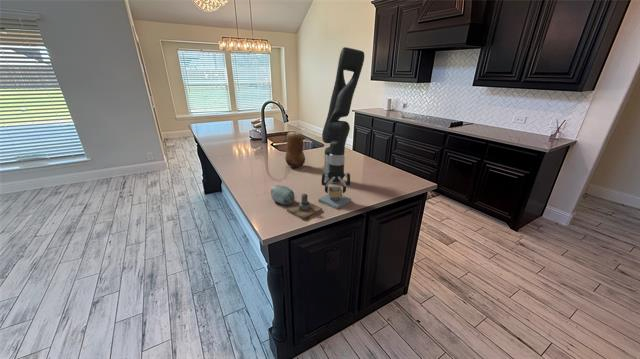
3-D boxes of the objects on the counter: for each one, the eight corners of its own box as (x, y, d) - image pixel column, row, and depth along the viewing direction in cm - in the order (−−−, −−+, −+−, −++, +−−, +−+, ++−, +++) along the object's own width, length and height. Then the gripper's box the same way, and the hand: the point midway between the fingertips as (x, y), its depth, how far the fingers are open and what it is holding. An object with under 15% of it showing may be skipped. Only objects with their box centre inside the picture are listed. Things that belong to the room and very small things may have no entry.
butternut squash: (306, 164, 183) (306, 130, 173) (303, 171, 171) (303, 134, 161) (287, 163, 184) (286, 129, 175) (283, 170, 172) (282, 133, 162)
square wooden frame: (329, 197, 126) (329, 191, 124) (328, 191, 131) (328, 186, 130) (342, 197, 126) (342, 191, 125) (340, 191, 132) (340, 186, 131)
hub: (318, 201, 130) (318, 186, 127) (333, 194, 138) (333, 179, 135) (336, 209, 122) (337, 193, 119) (351, 201, 131) (352, 186, 127)
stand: (286, 211, 120) (286, 195, 117) (304, 202, 128) (304, 187, 125) (304, 220, 112) (304, 203, 109) (322, 211, 121) (322, 195, 117)
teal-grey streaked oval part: (301, 196, 127) (291, 182, 122) (289, 210, 123) (278, 196, 118) (286, 194, 137) (275, 180, 132) (274, 206, 133) (263, 193, 128)
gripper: (322, 164, 118) (321, 195, 124) (352, 164, 119) (350, 195, 125) (321, 159, 125) (320, 189, 131) (350, 159, 126) (348, 189, 132)
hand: (335, 192), depth 128 cm, fingers open, 8 cm apart
